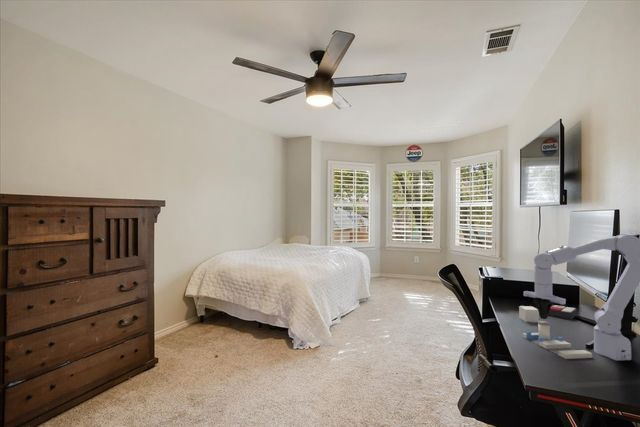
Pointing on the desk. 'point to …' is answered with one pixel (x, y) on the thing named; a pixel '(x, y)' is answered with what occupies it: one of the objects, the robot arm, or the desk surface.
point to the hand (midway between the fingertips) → (543, 318)
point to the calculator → (562, 312)
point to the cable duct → (557, 346)
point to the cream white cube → (528, 314)
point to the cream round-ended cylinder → (544, 330)
